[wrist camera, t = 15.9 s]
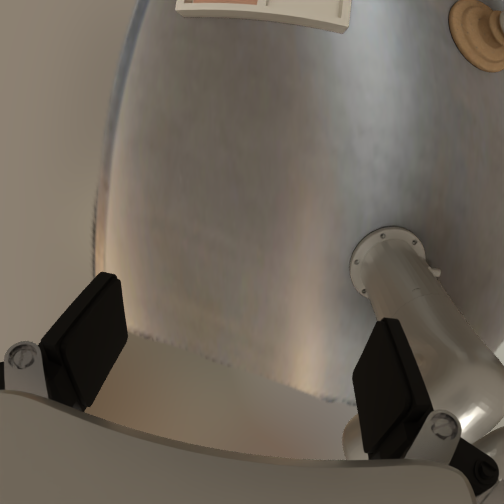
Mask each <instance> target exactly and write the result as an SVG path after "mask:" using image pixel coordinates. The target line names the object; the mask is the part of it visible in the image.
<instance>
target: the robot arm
mask: <svg viewBox="0 0 504 504" xmlns="http://www.w3.org/2000/svg"><path fill="white" fill-rule="evenodd" d="M382 233H383V234H382ZM381 234H382V235H381ZM413 240H414V241H413ZM355 260H356V261H355ZM349 268H350V276H351V280H352V282H353V285H354V287H355V288H356V290H357V291H358V292H359V293H360V294H361V295H363V296H364V297H366V298H368V299H370V302H371V304H372V307H373V310H374V313H375V315H376V318H377V322H376V324H375V326H374V329H373V331H372V333H371V335H370V338H369V340H368V342H367V344H366V346H365V348H364V351H363V353H362V355H361V357H360V359H359V361H358V363H357V365H356V367H355V369H354V371H353V376H352V380H353V386H354V392H355V398H356V404H357V410H358V414H357V415H355V416H354V417H353V418H352V419H351V420H350V421H349V422H348V424H347V425H346V427H345V429H344V431H343V436H342V445H343V451H344V455H345V457H346V460H314V459H295V458H282V457H272V456H262V455H253V454H246V453H239V452H232V451H226V450H220V449H214V448H209V447H204V446H199V445H194V444H189V443H185V442H181V441H176V440H172V439H168V438H164V437H160V436H156V435H153V434H149V433H145V432H142V431H139V430H135V429H132V428H128V427H125V426H122V425H119V424H116V423H113V422H110V421H107V420H104V419H101V418H98V417H96V416H93V415H90V414H87V413H85V412H84V411H85V409H86V407H90V406H91V405H92V404H93V402H94V400H95V398H96V396H97V394H98V392H99V391H100V389H101V387H102V385H103V383H104V381H105V380H106V378H107V376H108V374H109V372H110V370H111V369H112V367H113V365H114V363H115V362H116V360H117V358H118V356H119V354H120V353H121V351H122V349H123V347H124V346H125V344H126V342H127V338H128V332H127V326H126V319H125V312H124V305H123V297H122V288H121V281H120V280H119V279H117V276H116V275H115V274H110V273H106V272H100V273H99V274H98V275H97V276H96V277H95V278H94V279H93V280H92V282H91V283H90V284H89V285H88V286H87V287H86V288H85V289H84V290H83V291H82V293H81V294H80V295H79V296H78V297H77V298H76V299H75V300H74V301H73V303H72V304H71V305H70V306H69V307H68V308H67V310H66V311H65V312H64V313H63V314H62V315H61V316H60V318H59V319H58V320H57V321H56V322H55V324H54V325H53V326H52V327H51V328H50V330H49V331H48V332H47V333H46V334H45V336H44V337H43V338H42V339H41V342H40V343H39V345H38V346H37V345H36V344H35V343H33V342H29V341H23V342H19V343H16V344H14V345H13V346H11V347H10V348H9V349H8V350H7V352H6V354H5V357H4V362H0V504H504V427H500V428H498V429H496V430H494V431H492V432H490V433H489V434H487V433H488V432H489V431H491V430H492V429H493V428H494V427H495V426H496V425H497V424H498V423H499V422H500V420H501V419H502V418H503V417H504V366H503V365H502V363H501V362H500V361H499V359H498V358H497V357H496V356H495V355H494V353H493V352H492V351H491V350H490V349H489V348H488V347H487V346H486V345H485V344H484V342H483V341H482V340H481V339H480V338H479V337H478V335H477V334H476V333H475V332H474V331H473V329H472V328H471V327H470V325H469V324H468V323H467V321H466V320H465V319H464V317H463V316H462V314H461V313H460V312H459V310H458V309H457V307H456V306H455V304H454V303H453V301H452V300H451V299H450V297H449V296H448V294H447V293H446V291H445V290H444V289H443V287H442V285H441V282H439V281H438V280H437V279H436V278H435V277H439V276H440V274H441V270H440V269H439V268H431V267H430V266H429V265H428V263H427V262H426V256H425V250H424V248H423V245H422V243H421V242H420V240H419V239H418V238H417V237H416V236H415V235H414V234H413V233H412V232H410V231H409V230H406V229H404V228H400V227H386V228H381V229H379V230H376V231H374V232H372V233H371V234H369V235H367V236H366V237H365V238H364V239H363V240H362V241H361V242H360V243H359V244H358V246H357V247H356V249H355V250H354V252H353V254H352V257H351V260H350V267H349ZM486 434H487V435H486ZM484 435H485V436H484ZM483 436H484V437H483ZM480 438H481V439H480Z"/></svg>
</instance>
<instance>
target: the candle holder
mask: <svg viewBox="0 0 504 504" xmlns="http://www.w3.org/2000/svg"><path fill="white" fill-rule="evenodd" d="M449 27H450V31H451V34H452V37H453V39H454V42H455V44H456V45H457V47H458V49H459V50H460V52H461V53H462V54H463V56H464V57H465V58H466V59H467V60H468V61H469V62H470V63H471V64H473V65H474V66H475V67H477V68H479V69H481V70H483V71H486V72H498V71H501V70H503V69H504V10H503V11H502V12H501V11H493V10H492V9H490V8H489V7H488V6H487V5H485V4H483V3H482V2H479V1H477V0H460V1H458V2H456V3H455V4H454V5H453V6H452V8H451V10H450V14H449Z"/></svg>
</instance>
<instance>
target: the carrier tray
mask: <svg viewBox="0 0 504 504" xmlns="http://www.w3.org/2000/svg"><path fill="white" fill-rule="evenodd" d="M350 10H351V0H177V3H176V8H175V11H177V12H178V13H179V14H180V15H182V16H183V17H184V18H233V19H249V20H260V21H270V22H278V23H286V24H293V25H299V26H305V27H311V28H316V29H322V30H326V31H331V32H336V33H340V34H343V33H344V32H345V31H346V29H347V28H348V27H349V19H350Z"/></svg>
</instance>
